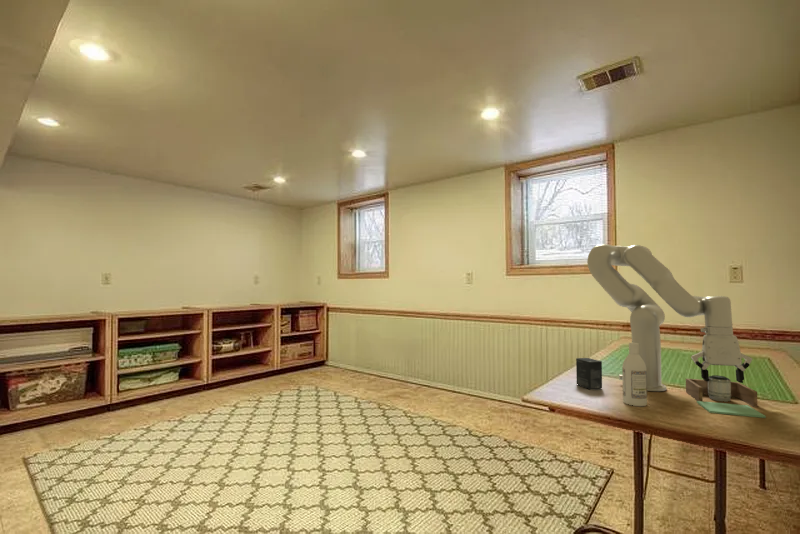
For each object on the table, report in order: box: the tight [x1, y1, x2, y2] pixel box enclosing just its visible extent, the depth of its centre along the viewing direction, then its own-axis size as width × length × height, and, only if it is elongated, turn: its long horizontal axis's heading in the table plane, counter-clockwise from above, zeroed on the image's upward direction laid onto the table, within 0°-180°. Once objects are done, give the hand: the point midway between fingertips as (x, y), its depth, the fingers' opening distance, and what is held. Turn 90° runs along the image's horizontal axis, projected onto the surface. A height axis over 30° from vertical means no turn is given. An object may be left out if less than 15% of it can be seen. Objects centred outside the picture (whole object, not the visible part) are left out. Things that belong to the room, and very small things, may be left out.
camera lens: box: [708, 374, 732, 403], centre depth 139 cm, size 6×6×8 cm
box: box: [575, 357, 603, 390], centre depth 155 cm, size 8×6×11 cm
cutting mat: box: [696, 400, 767, 419], centre depth 128 cm, size 14×11×1 cm
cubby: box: [685, 378, 758, 408], centre depth 139 cm, size 16×13×5 cm
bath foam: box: [621, 342, 648, 407], centre depth 134 cm, size 7×7×20 cm
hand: (722, 381), depth 139 cm, fingers open, 9 cm apart
